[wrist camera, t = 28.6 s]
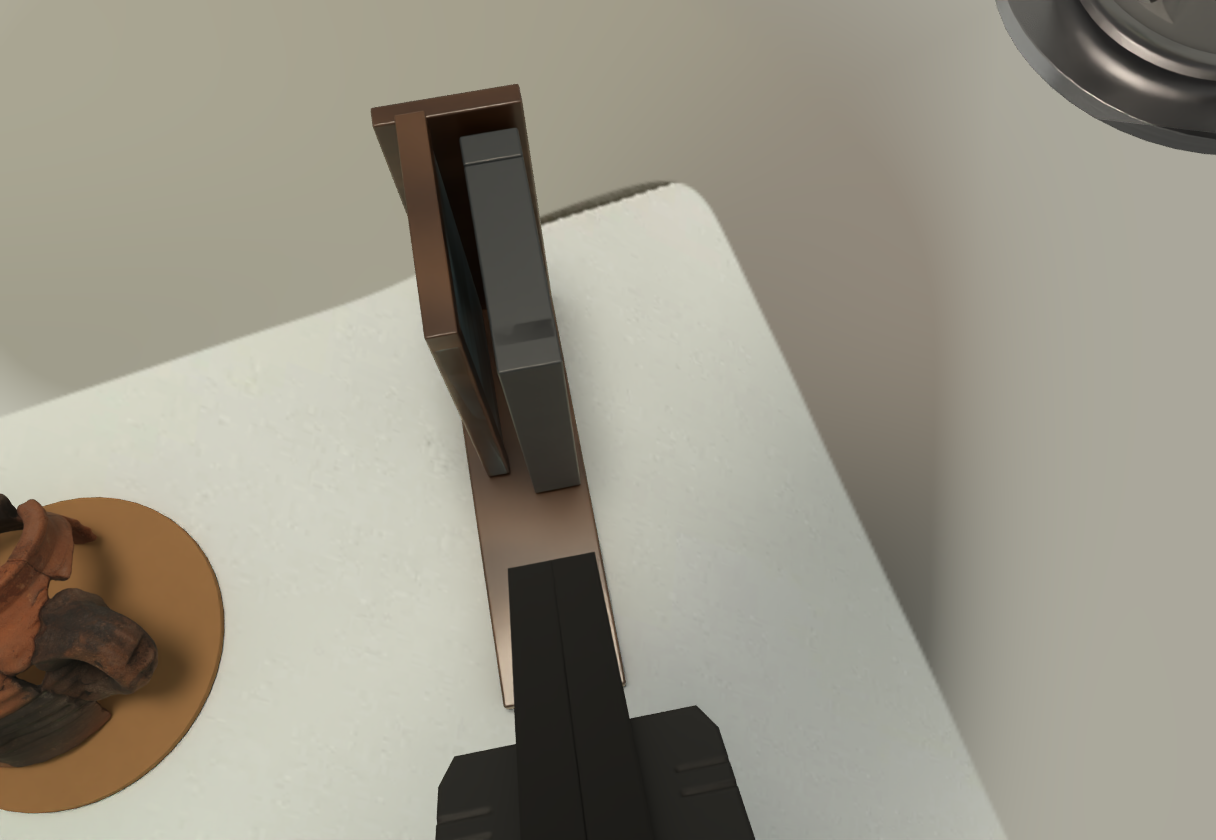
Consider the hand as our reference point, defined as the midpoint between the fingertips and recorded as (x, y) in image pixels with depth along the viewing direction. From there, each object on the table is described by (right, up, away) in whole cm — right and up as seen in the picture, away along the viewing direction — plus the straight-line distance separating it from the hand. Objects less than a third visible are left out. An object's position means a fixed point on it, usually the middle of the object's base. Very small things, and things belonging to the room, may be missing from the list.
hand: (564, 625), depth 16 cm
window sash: (-2, +5, +26) cm, 26 cm away
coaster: (-22, -6, +24) cm, 33 cm away
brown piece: (-3, +1, +26) cm, 26 cm away
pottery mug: (-22, -6, +24) cm, 33 cm away
